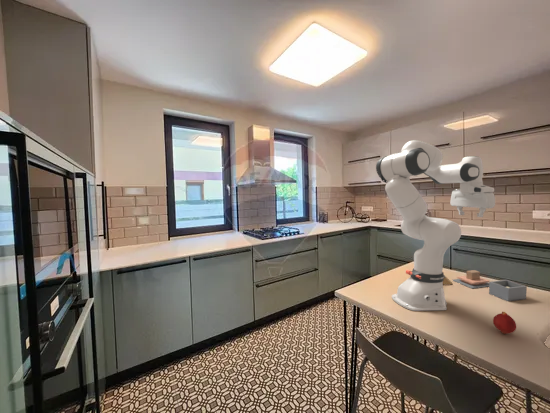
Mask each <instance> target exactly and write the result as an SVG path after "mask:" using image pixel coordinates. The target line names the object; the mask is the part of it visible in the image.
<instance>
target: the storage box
mask: <svg viewBox="0 0 550 413" xmlns="http://www.w3.org/2000/svg"><path fill="white" fill-rule="evenodd" d="M488 283H489V287H488V294H489V295H491V296H493V295H494V297H497V298H499V299H501V300H503V301H506V302H514V301H521V300H527V289H528V287H527V285H524V284H521V283H517V282H514V281H511V280H508V279H502V280H501V279H500V280H494V281H493V280H492V281H490V282H488Z"/></svg>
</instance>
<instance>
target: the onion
mask: <svg viewBox="0 0 550 413" xmlns="http://www.w3.org/2000/svg"><path fill="white" fill-rule="evenodd" d="M492 322H493V325H494V327H495V328H496V329H497V330H498V331H499V332H501V333H502V334H504V335H508V334H509V335H510V334H512V333H514V332H515V331H516V330H517V323H516V320H514V318H512V316H511V315H509V314H508V313H507V312H506V311H501V313H497V314H495V316H493V318H492Z"/></svg>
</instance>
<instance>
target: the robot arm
mask: <svg viewBox="0 0 550 413" xmlns="http://www.w3.org/2000/svg"><path fill="white" fill-rule="evenodd" d="M443 158H444V155H443V151H442V150H441V149H440V148H438V147H437V146H435V145H433V144H431V143H428V142H425V141H421V140H419V139H418V140H417V139H413V140H409V141H407V142H405V144H404V145H403V146H402V148H401V150H400V152H399V151H398V152H395V153H391V154H389V155H385V156H383V157H381V158H380V159H379V160H377V162H376V164H375V165H376V166H375V171H376V173H377V175H378V177H379V178H380V180H381V181H382V182H384V183H385V186H384V189H385V193H386V194H387V197H388V199H389V200H390V202H391V203H392V205H393V206H394V208H395V209H396V210H397V212H398V213H399V214H400V216H401V217H402V220H401V223H400V230H401V232H402V234H403V235H404V236H408V237H409V238H411V239H415V240H420V241H423V246H422V247H421V248H418V249H417V250H415V251H414V254H413V268H412V270H410V269H405V274H406V275H409V277H408V278H407V279H406V280H404V281H403V282H401V284H399V285H398V287H397V293H393V294H391V299H392V301H394V302H395V303H396V304H398V305H399V306H401V307H403V308H405V309H408V310H409V311H413V312H414V311H447V308H448V307H447V300H446V297H445V290H444V284H443V281H444V275H445V274H444V271H443V265H444V256H445V253H446V251H447V250H448V249H449V247H450V246H452V245H454V244H456V243H457V242H458V241H459V240H460V238H461V236H462V229H461V227H460V225H459V223H457V222H455V221H453V220H450V219H447V218H442V217H441V218H440V217H431V216H428V215H426V214H427V213H428V209H429V208H428V207H429V205H428V203H427V202H426V200H425V199H424V197H423V196H422V195H421V193H420V192H419V190H418V189H417V188H416V186H414V185H413V183H412V182H411V179H410V177H414V176H420V175H422V174H424V175H425V176H427V177H429V178H430V179H431V181H432V182H433V183H434V184H436V185H444V184H459V188H455V189H453V190H452V191H451V196H450V201H449V202H450V206H452V207H456V210H457V211H458V215H459V216H465V211H464V210H463V209H464V208H463V207H465V208H477V209H479V212H478V213H476V216H477V218H483V217H484V213H485V212H486V210H487V209H493V208H494V207H495V206H496V195H495V194H494V192H495V188H494V187H492V186H488V185H485V184H484V181H483V174H484V163H483V159H482V157H480V156H475V155H473V156H472V155H470V156H469V155H467V156H465V157H463V158H462V159H461V161H459V162H458V163H451V164H449V163H448V164H442V162H443Z"/></svg>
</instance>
